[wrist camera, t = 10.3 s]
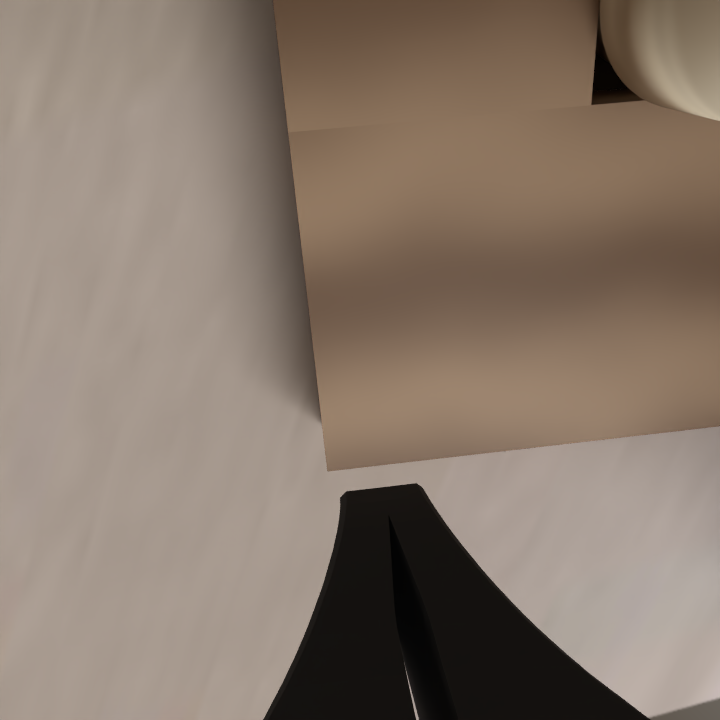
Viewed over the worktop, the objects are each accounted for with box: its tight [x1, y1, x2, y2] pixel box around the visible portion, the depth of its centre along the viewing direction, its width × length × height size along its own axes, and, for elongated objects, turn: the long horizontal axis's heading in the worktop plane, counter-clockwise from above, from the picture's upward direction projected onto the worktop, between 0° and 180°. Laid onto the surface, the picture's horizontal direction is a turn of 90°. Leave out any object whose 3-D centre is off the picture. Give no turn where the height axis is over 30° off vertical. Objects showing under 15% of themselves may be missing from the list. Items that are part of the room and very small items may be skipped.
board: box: [273, 0, 720, 471], centre depth 15 cm, size 20×14×6 cm
